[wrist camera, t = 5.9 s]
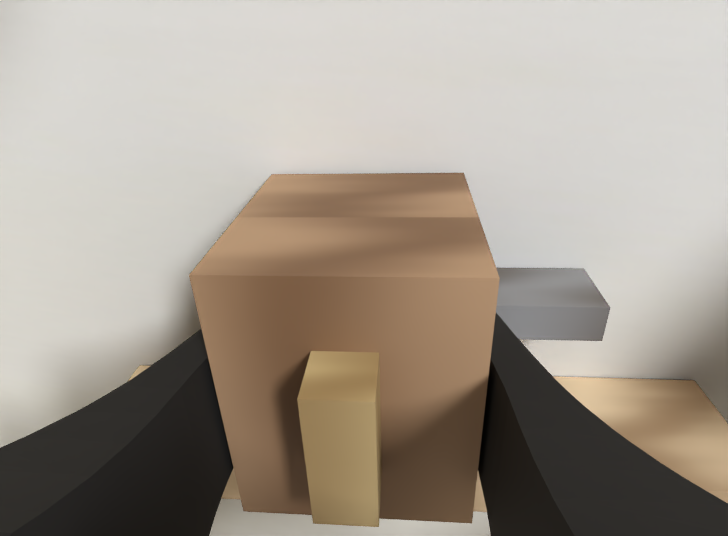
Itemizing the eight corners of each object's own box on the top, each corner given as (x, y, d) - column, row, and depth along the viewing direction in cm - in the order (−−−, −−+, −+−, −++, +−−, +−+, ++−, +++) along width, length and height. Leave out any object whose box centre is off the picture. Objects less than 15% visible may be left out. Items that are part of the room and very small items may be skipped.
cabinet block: (463, 172, 12) (514, 321, 6) (451, 359, 15) (479, 581, 9) (271, 174, 13) (155, 315, 7) (294, 355, 16) (225, 565, 10)
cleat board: (735, 269, 13) (855, 365, 10) (683, 408, 16) (764, 526, 12) (107, 264, 15) (13, 345, 11) (148, 392, 17) (81, 491, 14)
